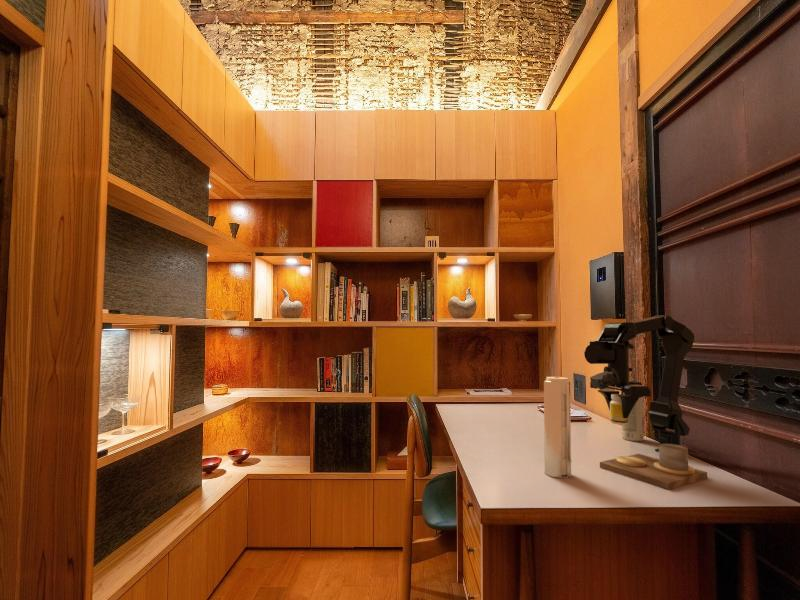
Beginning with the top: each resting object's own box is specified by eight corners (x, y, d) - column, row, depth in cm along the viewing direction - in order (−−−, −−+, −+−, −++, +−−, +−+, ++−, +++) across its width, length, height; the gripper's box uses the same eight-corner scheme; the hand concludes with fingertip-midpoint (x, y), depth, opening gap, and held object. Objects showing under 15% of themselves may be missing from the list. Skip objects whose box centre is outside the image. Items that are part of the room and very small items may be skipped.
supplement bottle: (630, 425, 123) (629, 396, 123) (612, 424, 124) (612, 395, 124) (625, 422, 127) (624, 394, 128) (608, 421, 128) (607, 393, 129)
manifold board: (638, 458, 124) (638, 433, 125) (707, 478, 109) (706, 449, 109) (599, 467, 115) (599, 440, 116) (668, 489, 100) (667, 458, 100)
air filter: (570, 471, 111) (569, 376, 113) (571, 479, 105) (570, 379, 107) (544, 468, 114) (543, 375, 115) (544, 476, 107) (543, 377, 109)
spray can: (647, 442, 144) (646, 382, 145) (628, 441, 144) (626, 382, 145) (637, 437, 150) (636, 380, 152) (618, 436, 151) (617, 380, 152)
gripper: (575, 361, 134) (575, 411, 133) (617, 366, 116) (618, 424, 115) (605, 361, 136) (606, 410, 135) (651, 366, 118) (652, 423, 117)
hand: (619, 416), depth 126 cm, fingers closed on supplement bottle, 5 cm apart
